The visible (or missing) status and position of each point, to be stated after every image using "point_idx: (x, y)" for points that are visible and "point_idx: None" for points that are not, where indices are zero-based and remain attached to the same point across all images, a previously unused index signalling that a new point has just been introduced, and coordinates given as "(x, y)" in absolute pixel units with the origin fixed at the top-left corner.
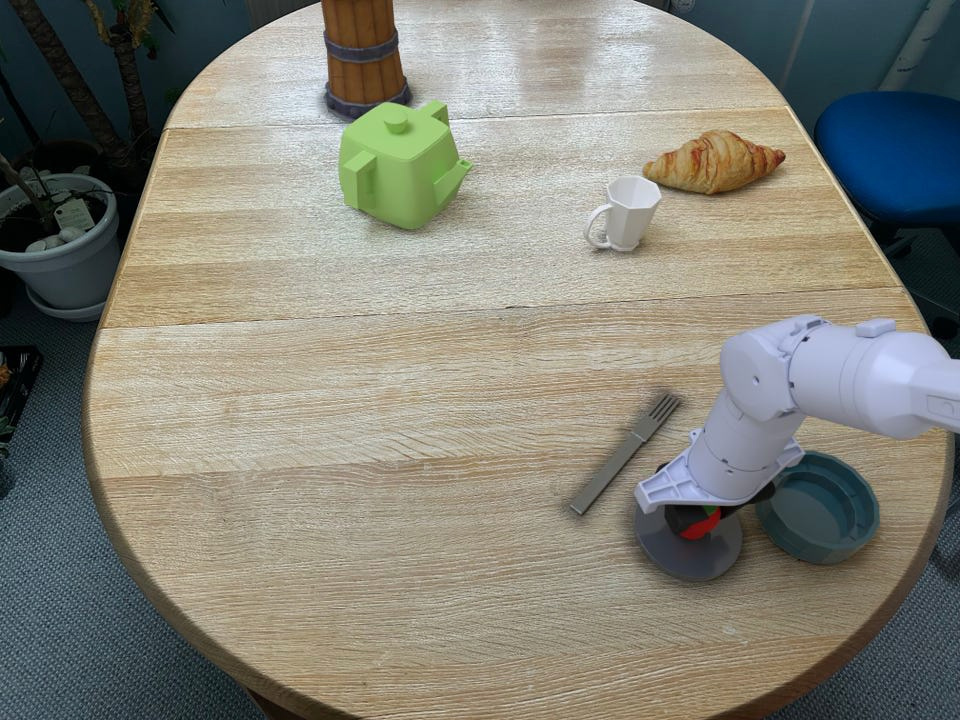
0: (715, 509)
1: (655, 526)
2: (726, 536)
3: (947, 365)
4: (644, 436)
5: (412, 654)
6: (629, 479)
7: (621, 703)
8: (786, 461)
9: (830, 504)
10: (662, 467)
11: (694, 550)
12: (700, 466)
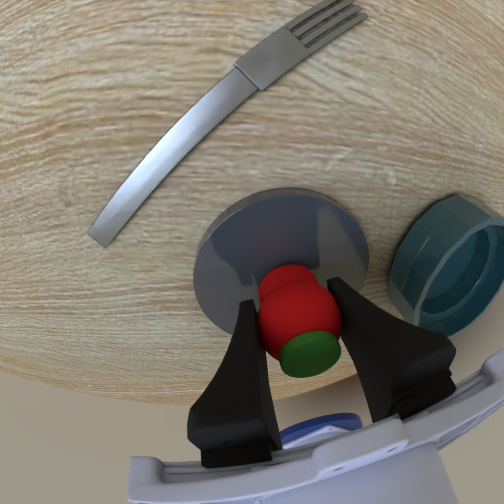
0: (322, 371)
1: (228, 282)
2: None
3: None
4: (263, 78)
5: (4, 351)
6: (205, 173)
7: (165, 401)
8: (469, 429)
9: (467, 249)
10: (207, 432)
11: None
12: None
